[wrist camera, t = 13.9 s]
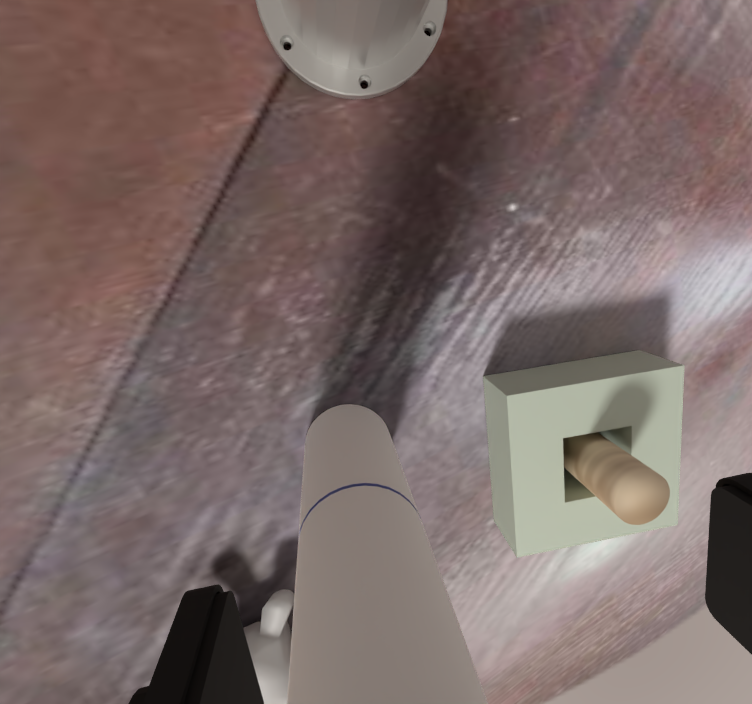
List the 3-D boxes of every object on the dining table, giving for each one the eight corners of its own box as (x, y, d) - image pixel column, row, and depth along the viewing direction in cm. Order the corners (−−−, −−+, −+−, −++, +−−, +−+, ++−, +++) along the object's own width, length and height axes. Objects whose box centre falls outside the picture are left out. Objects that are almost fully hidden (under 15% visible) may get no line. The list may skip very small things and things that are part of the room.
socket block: (483, 376, 38) (506, 395, 33) (639, 349, 39) (684, 365, 34) (493, 520, 42) (516, 557, 37) (637, 492, 43) (677, 524, 38)
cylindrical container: (384, 397, 37) (503, 683, 13) (395, 474, 39) (516, 850, 15) (298, 412, 37) (257, 739, 13) (312, 489, 39) (302, 905, 14)
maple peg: (542, 420, 40) (614, 477, 30) (585, 412, 40) (670, 466, 30) (544, 461, 41) (614, 530, 31) (586, 453, 41) (669, 518, 31)
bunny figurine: (226, 762, 40) (175, 644, 34) (235, 700, 44) (191, 587, 39) (333, 736, 40) (301, 617, 35) (331, 678, 45) (302, 564, 40)
